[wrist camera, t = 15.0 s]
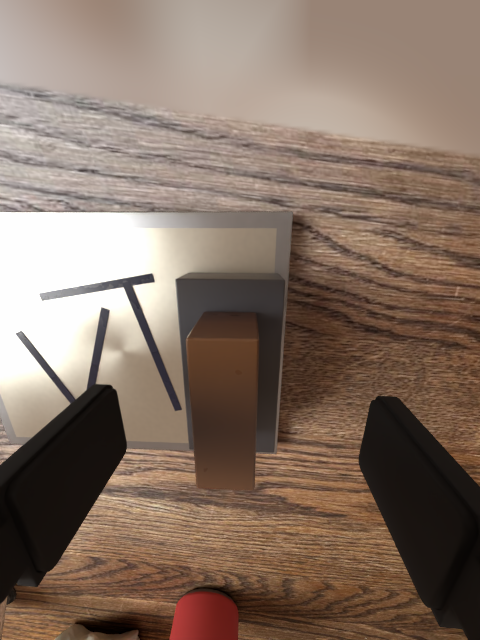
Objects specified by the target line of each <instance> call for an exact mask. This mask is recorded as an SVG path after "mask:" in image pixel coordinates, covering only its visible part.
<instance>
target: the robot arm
mask: <svg viewBox="0 0 480 640" xmlns="http://www.w3.org/2000/svg"><path fill="white" fill-rule="evenodd" d="M126 449H127V441H126V436H125V431H124V426H123V420H122V415H121V410H120V405H119V400H118V394H117V391H116V389H113V387H112V385H107V384H94V385H92V386H91V387H89V388H88V389H87V390H86V391H85V392H84V393H83V394H81V395H80V396H79V397H78V398H77V399H76V400H75V401H73V402H72V403H71V404H70V405H69V406H68V407H66V408H65V409H64V410H63V411H62V412H61V413H60V414H58V415H57V416H56V417H55V418H54V419H53V420H52V421H50V422H49V423H48V424H47V425H46V426H45V427H43V428H42V429H41V430H40V431H39V432H38V433H37V434H35V435H34V436H33V437H32V438H31V439H30V440H29V441H27V442H26V443H25V444H24V445H23V446H22V447H20V448H19V449H18V450H17V451H16V452H15V453H14V454H12V455H11V456H10V457H9V458H8V459H7V460H6V461H4V462H3V463H2V464H1V465H0V640H1V638H2V631H3V624H4V617H5V610H6V604H7V597H8V595H9V593H10V592H11V590H12V589H13V587H14V586H15V585H16V583H17V584H18V585H22V586H32V587H38V585H39V584H40V582H41V581H42V579H43V577H44V576H45V574H46V573H47V572H49V571H50V570H52V569H53V568H54V567H55V566H56V564H57V563H58V561H59V560H60V558H61V556H62V555H63V553H64V551H65V550H66V548H67V547H68V545H69V543H70V542H71V540H72V539H73V537H74V535H75V534H76V532H77V531H78V529H79V527H80V526H81V524H82V522H83V521H84V519H85V518H86V516H87V514H88V513H89V511H90V510H91V508H92V506H93V505H94V503H95V501H96V500H97V498H98V497H99V495H100V493H101V492H102V490H103V489H104V487H105V485H106V484H107V482H108V480H109V479H110V477H111V476H112V474H113V472H114V471H115V469H116V468H117V466H118V464H119V463H120V461H121V460H122V458H123V456H124V455H125V452H126ZM359 465H360V469H361V471H362V473H363V475H364V478H365V480H366V482H367V484H368V486H369V488H370V491H371V493H372V495H373V497H374V499H375V501H376V503H377V506H378V508H379V510H380V512H381V514H382V516H383V519H384V521H385V523H386V525H387V527H388V529H389V532H390V534H391V536H392V538H393V540H394V542H395V545H396V547H397V549H398V551H399V553H400V555H401V558H402V560H403V562H404V564H405V566H406V568H407V571H408V573H409V575H410V577H411V579H412V581H413V584H414V586H415V588H416V590H417V592H418V594H419V596H420V598H421V600H422V602H423V603H424V604H425V605H426V606H427V607H428V608H431V610H432V612H433V614H434V616H435V618H436V620H437V622H438V624H439V626H440V627H446V628H457V629H463V631H464V633H465V635H466V636H467V638H468V640H480V487H479V486H478V484H477V483H476V482H475V481H474V480H473V479H472V478H471V477H470V476H469V475H468V474H467V472H466V471H465V470H464V469H463V468H462V467H461V466H460V465H459V464H458V463H457V462H456V460H455V459H454V458H453V457H452V456H451V455H450V454H449V453H448V452H447V451H446V450H445V448H444V447H443V446H442V445H441V444H440V443H439V442H438V441H437V440H436V439H435V438H434V436H433V435H432V434H431V433H430V432H429V431H428V430H427V429H426V428H425V427H424V426H423V424H422V423H421V422H420V421H419V420H418V419H417V418H416V417H415V416H414V415H413V414H412V412H411V411H410V410H409V409H408V408H407V407H406V406H405V405H404V404H403V403H402V402H401V400H400V399H398V398H397V397H391V396H378V397H376V399H375V400H372V401H371V403H370V408H369V413H368V417H367V422H366V426H365V431H364V436H363V440H362V445H361V449H360V454H359Z"/></svg>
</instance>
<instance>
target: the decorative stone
mask: <svg viewBox="0 0 480 640" xmlns="http://www.w3.org/2000/svg"><path fill="white" fill-rule="evenodd" d="M55 640H140V639H139V637H138V630H132V631H128V632H125V633H122V634H114V635H112V634H104V633H100V632H91V631H89V630H87V629H86V628H85V627H84V626H83V625H79V624H74V625H72V626H70V627H69V628H68V629H66V630H65V631H63V632H62V633H61V634H60V635H59V636H57V638H56V639H55Z"/></svg>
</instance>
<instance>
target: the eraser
mask: <svg viewBox="0 0 480 640" xmlns="http://www.w3.org/2000/svg"><path fill="white" fill-rule="evenodd" d="M175 283H176V296H177V308H178V320H179V332H180V344H181V356H182V368H183V380H184V393H185V405H186V417H187V429H188V441H189V449H190V450H194V458H195V472H196V485H197V488H208V489H231V490H254V487H255V456H256V452H267V453H274V449H275V434H276V419H277V403H278V388H279V373H280V357H281V342H282V327H283V311H284V296H285V280H284V279H283V278H282V277H281V275H280V274H278V273H193V272H190V273H187V274H185V275H183V276H181V277H179V278H177V279H176V280H175Z"/></svg>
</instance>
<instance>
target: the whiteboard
mask: <svg viewBox="0 0 480 640" xmlns="http://www.w3.org/2000/svg"><path fill="white" fill-rule="evenodd" d="M292 221H293V212H0V419H1V421H2V424H3V427H4V429H5V432H6V434H7V437H8V439H9V442H10V444H23V445H24V444H25V443H26V442H27V441H29V440H30V439H31V438H32V437H33V436H34V435H35V434H37V433H38V432H39V431H40V430H41V429H42V428H43V427H45V426H46V425H47V424H48V423H49V422H50V421H52V420H53V419H54V418H55V417H56V416H57V415H58V414H60V413H61V412H62V411H63V410H64V409H65V408H66V407H68V406H69V405H70V404H71V403H72V402H73V401H75V400H76V399H77V398H78V397H79V396H80V395H81V394H83V393H84V392H85V391H86V390H87V389H88V388H89V387H91V386H92V385H94V384H107V385H112V387H113V389H116V391H117V394H118V400H119V405H120V410H121V415H122V420H123V426H124V431H125V436H126V441H127V448H128V449H154V450H180V451H194V450H190V449H189V441H188V429H187V417H186V405H185V393H184V380H183V368H182V356H181V344H180V332H179V320H178V308H177V296H176V283H175V280H176V279H177V278H179V277H181V276H183V275H185V274H187V273H190V272H193V273H278V274H280V275H281V277H282V278H283V279H284V280H285V296H284V311H283V327H282V342H281V357H280V373H279V388H278V403H277V419H276V434H275V449H274V453H267V452H256V453H259V454H276V453H277V440H278V425H279V410H280V396H281V381H282V367H283V352H284V338H285V323H286V309H287V294H288V280H289V265H290V250H291V236H292Z"/></svg>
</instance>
